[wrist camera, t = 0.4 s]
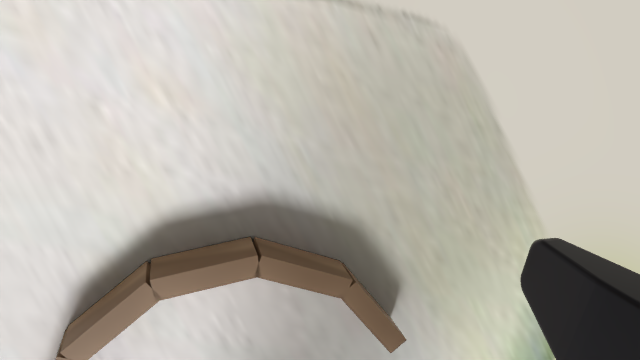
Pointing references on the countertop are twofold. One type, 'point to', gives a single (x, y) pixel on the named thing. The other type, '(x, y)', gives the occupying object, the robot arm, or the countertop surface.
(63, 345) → the walnut open arc
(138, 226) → the countertop surface
